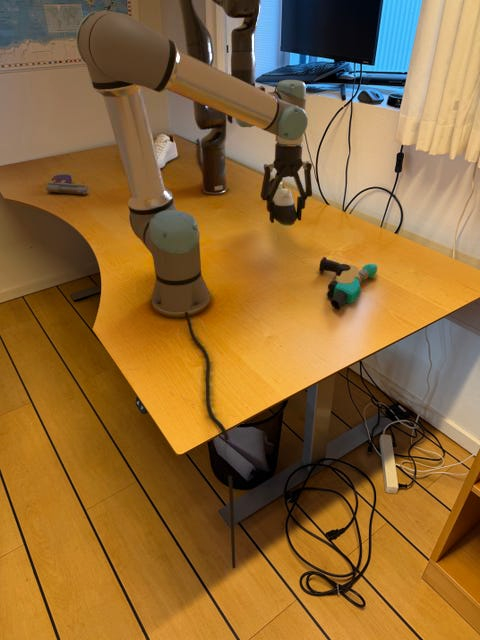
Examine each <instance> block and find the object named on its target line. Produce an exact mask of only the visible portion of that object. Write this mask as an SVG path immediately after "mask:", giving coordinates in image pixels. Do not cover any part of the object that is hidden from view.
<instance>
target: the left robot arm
mask: <svg viewBox="0 0 480 640" xmlns="http://www.w3.org/2000/svg"><path fill="white" fill-rule="evenodd" d="M75 40H76V41H75V42H76V47H77V51H78V53H79V55H80V58H81V60H82V61H83V62H84V63H85V64H86V68H87V70H88V74H89V77H90V81H91V85H92V88H93V90H95V92H97V93H99V94H100V95H101V96H102V97H103V101H104V104H105V107H106V111H107V115H108V118H109V121H110V125H111V128H112V132H113V136H114V140H115V143H116V146H117V150H118V152H119V153H118V154H119V156H120V160H121V164H122V167H123V170H124V174H125V178H126V182H127V184H128V188H129V190H130V191H129V192H130V194H131V196H129V199H128V200H127V206H128V210H129V215H128V220H129V224H130V228H131V230H132V232H133V233H134V235H135V236H136V237H137V238H138V239H139V240H140V241H141V243H142V244H143V246H145V247H146V249H147V250H148V251H149V253H150V254H151V256H152V260H153V261H152V262H153V268H154V274H155V275H154V276H155V281H154V284H153V290H152V294H151V305H152V308H153V310H154V311H155V312H156V313H157V314H159V315H160V316H163V317H167V318H171V319H183V318H185V319H186V322H187V325H188V330H189V333H190V334H189V335H190V337H191V338H192V341H194V343H195V344H196V345H197V346H198V348H199V350H201V352H202V353H203V356H204V358H205V361H206V362H205V363H206V367H205V368H206V369H205V402H206V409H207V412H208V415H209V418H210V419H211V420H212V422H214V424H215V425H216V426H217V427H218V428H219V430H220V431H221V432H222V434H223V438H224V440H225V441H229V440H230V437H229V434H228V431H227V430H226V428H225V426H224V425H223V424H222V422H220V421H219V420H218V419H217V417H216V416H215V415H214V413H213V409H212V406H211V400H210V399H211V398H210V394H211V393H210V373H211V362H210V357H209V353H208V352H207V350H206V349H205V347H204V346H203V345H202V344H201V342H199V340H198V339H197V337H196V335H195V334H194V331H193V326H192V322H191V319H190V317H194V316H196V315H199V314H201V313H202V312H204V311H205V310H207V308H208V307H209V306H210V303H211V292H210V290H209V288H208V286H207V284H206V281H205V278H204V277H203V275H202V262H201V261H202V259H201V243H200V242H201V241H200V238H201V237H200V235H201V234H200V230H199V226H198V221H197V220H196V218H195V217H194V216H193V215H192V214H190V213H188V212H186V211H181V210H177V208H176V204H175V199H174V196H173V192H172V191H170V190H169V189H167V188H166V187H165V184H164V179H163V175H162V169H161V168H160V166H159V162H158V157H157V153H156V149H155V145H154V142H155V140H154V137H153V132H152V128H151V123H150V120H149V115H148V112H147V107H146V102H145V99H144V94H143V89H142V88H146V89H150V90H152V91H154V92H158V93H163V92H165V91H168V92H171V93H173V94H176V95H178V96H180V97H183V98H186V99H188V100H191V101H192V102H193V101H195V102H198V103H200V104H202V105H205V106H207V107H210V108H212V109H215V110H217V111H219V112H222V113H224V114H226V115H229V116H231V117H232V118H234V119H235V121H236V123H237V125H238V126H239V127H241V128H252V127H256V128H258V129H261V130H263V131H265V132H267V133H269V134H272V135H274V136H275V144H274V159H273V162H272V163H270V164H267V163H265V164H263V170H264V171H263V172H264V173H263V180H262V185H261V189H260V190H261V191H260V198H261V199H262V201H266V211H267V212H268V213H269V222H270V223H271V224H274V223H275V219H274V207H275V202H274V200H273V198H274V195H275V193H276V191H277V189H278V186H279V184H280V182H283V179H285V178H288V177H289V178H293V180H294V182H295V185H296V188H297V190H298V193H299V196H297V199H296V212H297V220H298V221H299V222H300V221H302V214H303V213H302V211H303V210H304V209H305V208H306V201H307V200H308V197H312V196H313V188H312V175H311V171H312V167H313V164H312V163H311V162H310V161H309V160H306V161H303V159H302V158H303V144H302V143H303V142H304V134H305V132H306V130H307V128H308V124H309V123H308V122H309V121H308V120H309V119H308V115H307V113H306V101H307V87H306V86H307V85H306V84H305V82H304V81H302V80H297V79H285V80H283V79H282V80H280V81H279V82H277V85H276V90H273V91H269V92H266V91H265V92H264V91H262V90H260V89H258V88H257V87H256V86H255V87H254V86H252V85H250V84H248V83H246V82H244V81H241V80H239V79H237V78H235V77H233V76H231V74H230V73H229V74H228V73H227V72H224V71H223V70H220V69H218V68H216V67H215V66H210V65H208V64H206V63H204V62H202V61H200V60H198V59H195V58H193V57H191V56H189V55H187V53H185V52H183V51H181V50H179V49H178V47H177V46H178V45H177V43H176V42H175V41H173V40H171V39H169V38H167V37H165V36H163V35H161V34H160V33H158V32H156V31H155V30H153V29H151V28H150V27H148V25H145V24H144V23H142V22H141V21H140V20H138V19H136V18H135V17H133V16H131V15H129V14H126V13H122V12H116V11H113V10H111V9H98V10H95V11H92V12H90V13H88V14H87V15H86V16H85V17H84V18H83V19H81V21H80V23H79V25H78V27H77V30H76V39H75ZM301 168H302V169H303V173H304V174H303V175H304V185H305V187H304V186H303V183H302V180H301V177H300V174H299V171H300V169H301ZM273 169H275V171H276V172H275V175H274V177H273V178H274V181H273V183H272V185H271V188H270V190H269V192H268V187H269V182H270V180H271V176H272V175H271V173H273ZM304 188H305V189H304ZM267 192H268V194H267ZM227 480H228V495H229V516H230V545H231V566H232V569H235V568H236V566H237V565H236V542H235V541H236V540H235V539H236V538H235V508H234V507H235V506H234V488H233V487H234V485H233V475H227Z"/></svg>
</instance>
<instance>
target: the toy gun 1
mask: <svg viewBox="0 0 480 640" xmlns="http://www.w3.org/2000/svg"><path fill="white" fill-rule="evenodd" d="M72 182H73V176H72V174H70V173H58V174H56V175H53V177H52V178H51V182H47V185H46V188H45V190H46V191H47V192H49V193H57V194H74V195H87V192H88V191H89V187H88V185H84V184H78V183H76V184H75V183H72Z"/></svg>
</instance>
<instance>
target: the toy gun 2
mask: <svg viewBox="0 0 480 640" xmlns="http://www.w3.org/2000/svg"><path fill="white" fill-rule="evenodd" d="M324 271H327V272H332V273H335V278H334V279H332V280H330V281H329V283H328V284H327V289H328V290H327V292H326V296H327V298H329V299H330V304H331V307H332V308H333V309H334V310H335V311H338V312H339V311H340V310H341V309H342V308H343V307H344V306H345V304H346V303H347V304H353V302H355V301H357V299H358V298H359V297H360V295H361V293H362V288H361V284H362V283H363V282H365V281H366V280H367V279H368V278H369V279H371V278H373V277H374V276H376V274H377V272H378V265H377V264H375V263H367V264H364V266H362V268H361V269H360V270H359V267H358V266H357V265H354V264H353V265H352V264H346V263H340V262H337V261H334V260H332V259H327V257H326V256H323V257H322V258H321V260H320V262H319V268H318V272H320V273H324Z"/></svg>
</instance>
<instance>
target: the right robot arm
mask: <svg viewBox="0 0 480 640" xmlns="http://www.w3.org/2000/svg"><path fill="white" fill-rule="evenodd" d="M177 1H178V6H179V10H180V15H181V21H182V28H183V33H184V34H183V35H184V41H185V49H186V54H187V55H189V56H191V57H193V58H195V59H198V60H200V61H202V62H204V63H206V64H208V65H210V66H212V67H214V66H213V65H214V62H215V53H214V45H213V38H212V35H211V32H210V31H209V29H208V27H207V25H206V24H205V23H204V21H203V20H202V18H201V17H200V16H199V14H198V12H197V10H196V7H195V4H194V0H177ZM211 1H212V2H213V3H214V4H215V5H216V6H218V7H221V8H222V10H223V11H224V13H225V14H226V16H227V17H229V18H232V19H243V21H242V23H241V25H240V26H238V27H235V28H233V29H232V30H231V34H230V40H231V41H230V43H231V46H230V47H231V56H230V75H231V76H233V77H235V78H237V79H239V80H241V81H244V82H246V83H248V84H250V85H252V86H254V87H256V64H257V63H256V54H255V35H256V30H257V26H258V21H259V17H260V13H261V5H262V4H261V3H262V2H261V0H211ZM256 88H258V89H260V90H262V91H264V92H266V88H265V87H264V86H263V85H260V86H258V87H256ZM192 104H193V106H192V107H193V116H194V121H195V124H196V126H197V128H198V129H199V130H200V131H201V130H202V131H205V130H206V131H207V130H210V132H208V133H207V134H206V135H204V136H203V137H202V138H201V139H199V138H196V142H197V146H198V147H197V148H198V149H197V151H198V152H197V154H198V160H199V164H200V166H201V172H202V173H201V176H202V177H201V179H202V191H203V193H204V194H207V195H214V196H215V195H223V194H224V193H226V192H227V191H228V188H227V161H226V160H227V159H226V141H227V122H229V124H233V117H231V116H229V115H227V114H224V113H222V112H219V111H217V110H215V109H212V108H210V107H207V106H205V105H202V104H200V103H198V102H195V101H193V100H192Z"/></svg>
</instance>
